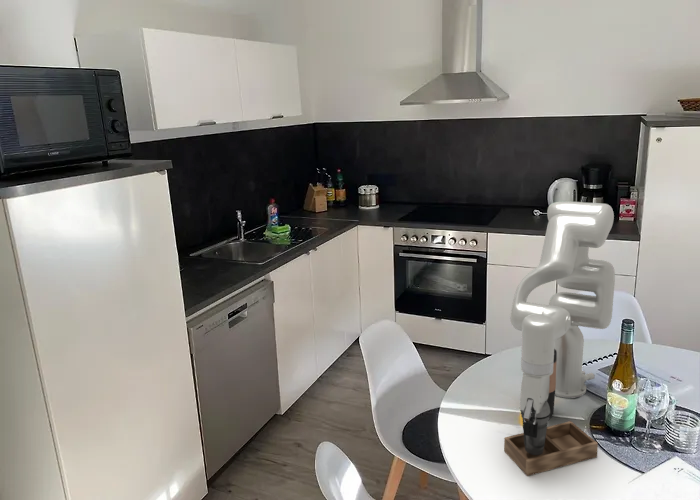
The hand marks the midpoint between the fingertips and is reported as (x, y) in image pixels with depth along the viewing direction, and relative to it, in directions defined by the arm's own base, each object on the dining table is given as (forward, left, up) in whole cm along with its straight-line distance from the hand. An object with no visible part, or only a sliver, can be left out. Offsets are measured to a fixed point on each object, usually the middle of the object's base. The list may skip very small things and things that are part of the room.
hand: (534, 427), depth 141 cm
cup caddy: (-5, 0, -9) cm, 10 cm away
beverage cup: (0, 0, -7) cm, 7 cm away
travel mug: (-14, -17, -9) cm, 24 cm away
